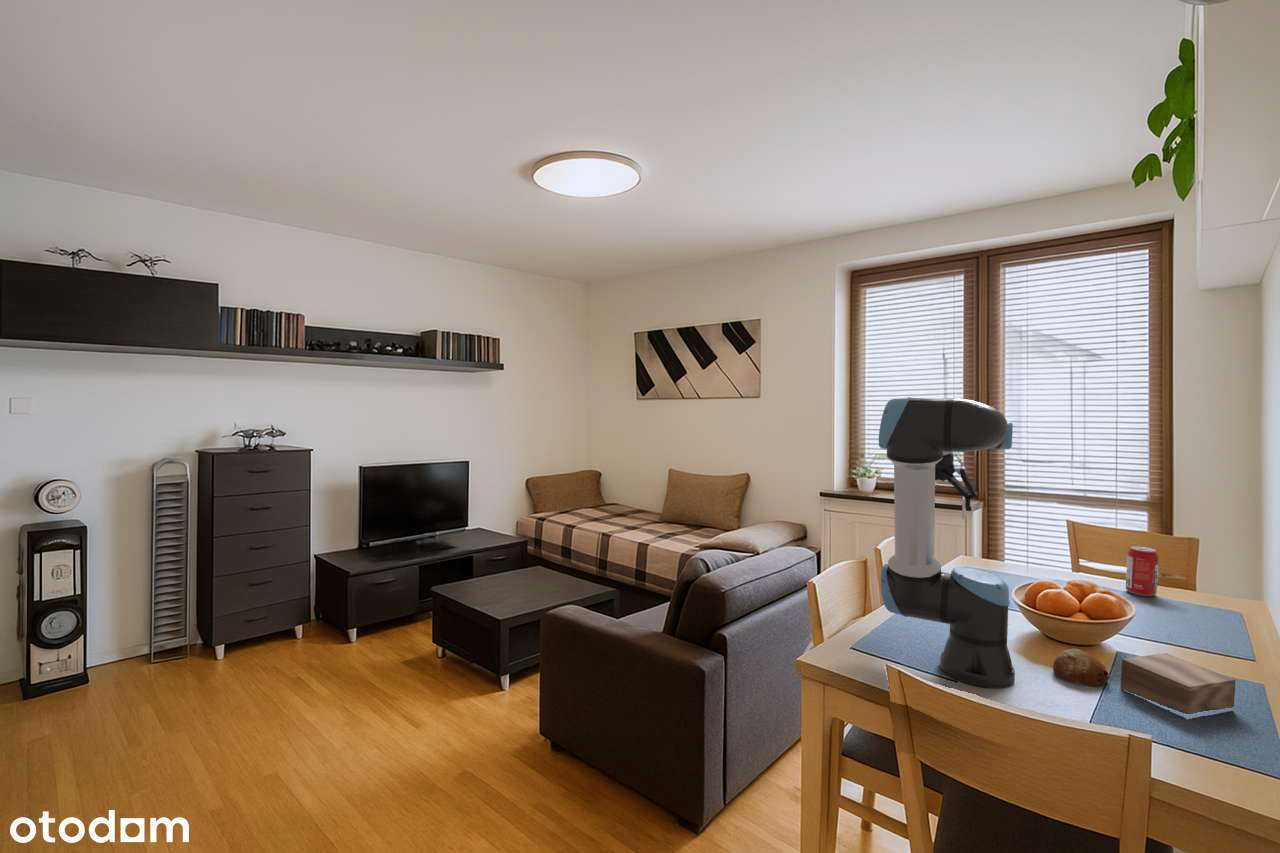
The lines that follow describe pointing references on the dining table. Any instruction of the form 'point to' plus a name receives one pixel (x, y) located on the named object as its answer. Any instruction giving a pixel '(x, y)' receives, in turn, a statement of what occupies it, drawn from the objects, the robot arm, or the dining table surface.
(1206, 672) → the walnut box
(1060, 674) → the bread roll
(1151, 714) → the dining table surface
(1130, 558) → the soda can
